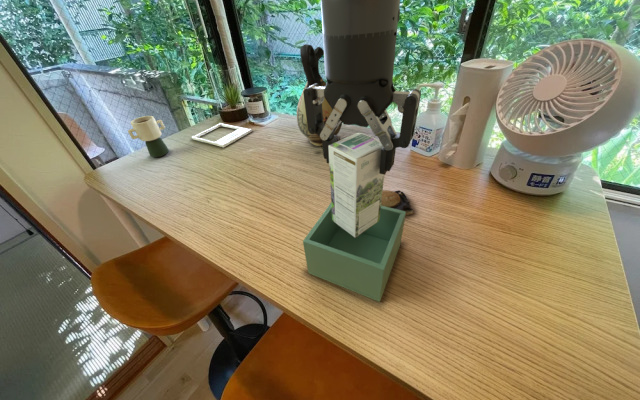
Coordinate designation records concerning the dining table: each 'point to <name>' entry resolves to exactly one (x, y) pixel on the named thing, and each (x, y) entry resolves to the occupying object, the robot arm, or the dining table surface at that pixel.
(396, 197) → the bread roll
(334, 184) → the syrup box
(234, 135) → the photo frame
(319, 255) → the tote
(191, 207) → the dining table surface
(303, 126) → the ceramic jug
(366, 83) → the robot arm
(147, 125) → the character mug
